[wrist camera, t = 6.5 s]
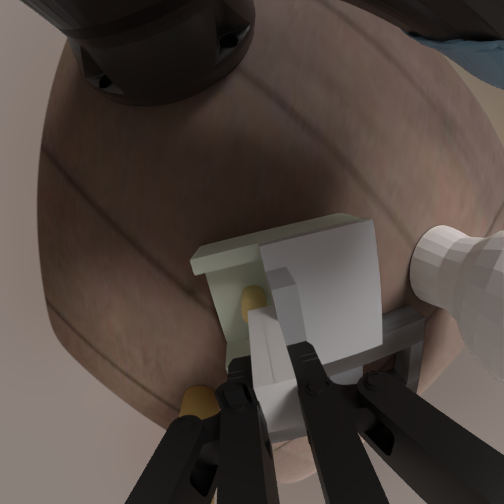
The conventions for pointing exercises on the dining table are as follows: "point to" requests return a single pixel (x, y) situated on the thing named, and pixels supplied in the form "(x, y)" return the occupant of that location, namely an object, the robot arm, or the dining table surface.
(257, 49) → the dining table surface
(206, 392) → the peg
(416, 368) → the peg board
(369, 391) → the robot arm
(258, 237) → the pale green box tray
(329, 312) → the lid
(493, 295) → the cup
